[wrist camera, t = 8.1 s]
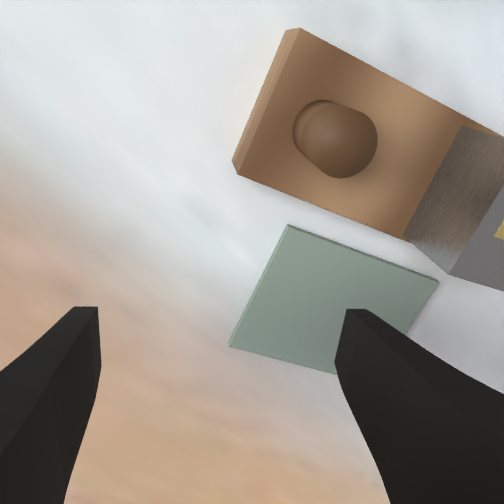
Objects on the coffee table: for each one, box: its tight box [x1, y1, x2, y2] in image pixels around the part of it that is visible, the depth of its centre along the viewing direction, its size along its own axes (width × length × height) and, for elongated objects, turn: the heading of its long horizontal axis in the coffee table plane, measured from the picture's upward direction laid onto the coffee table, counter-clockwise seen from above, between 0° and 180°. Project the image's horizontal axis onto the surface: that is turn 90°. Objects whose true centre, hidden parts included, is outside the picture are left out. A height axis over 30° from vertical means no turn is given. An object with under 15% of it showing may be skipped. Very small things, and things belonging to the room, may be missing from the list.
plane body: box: [232, 28, 503, 243], centre depth 19 cm, size 18×6×6 cm, turn 66°
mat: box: [229, 224, 439, 375], centre depth 24 cm, size 10×8×1 cm
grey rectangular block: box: [402, 126, 504, 291], centre depth 18 cm, size 3×5×4 cm, turn 159°
